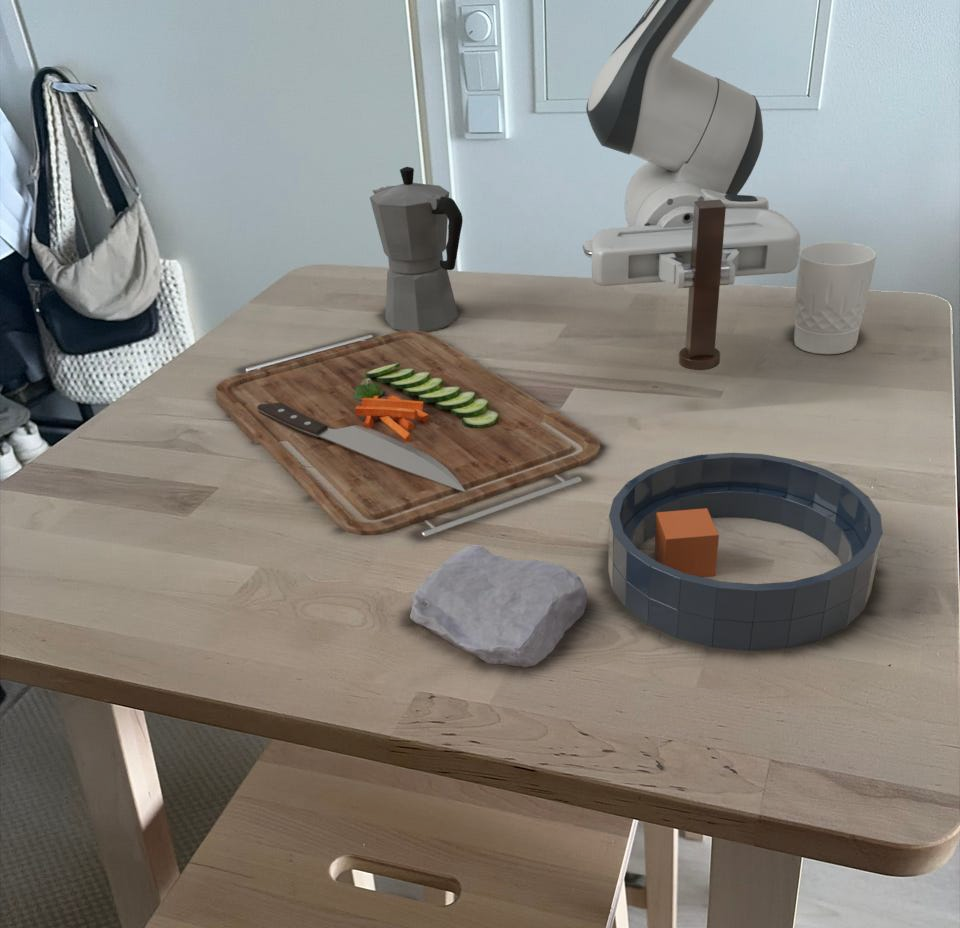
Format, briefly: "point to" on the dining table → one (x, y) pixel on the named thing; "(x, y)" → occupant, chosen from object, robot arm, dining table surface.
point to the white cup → (831, 295)
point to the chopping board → (401, 429)
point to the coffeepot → (418, 252)
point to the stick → (704, 286)
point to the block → (687, 541)
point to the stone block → (499, 605)
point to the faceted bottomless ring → (741, 606)
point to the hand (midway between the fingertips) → (707, 278)
